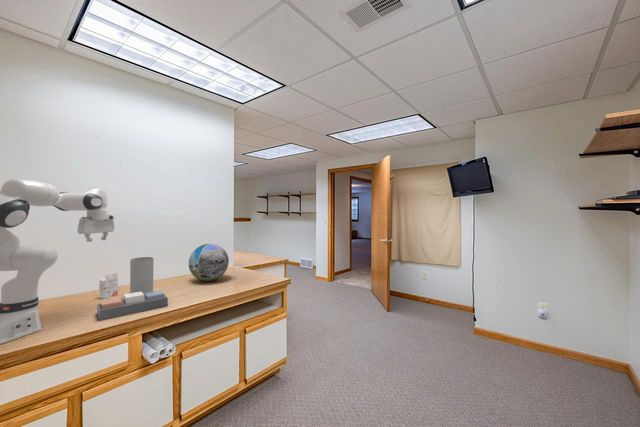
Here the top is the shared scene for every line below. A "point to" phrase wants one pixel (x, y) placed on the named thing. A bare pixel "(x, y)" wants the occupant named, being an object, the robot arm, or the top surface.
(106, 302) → the terracotta key
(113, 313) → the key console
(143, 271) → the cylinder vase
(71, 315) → the top surface
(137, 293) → the white key
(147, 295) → the slate key
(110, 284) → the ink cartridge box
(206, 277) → the grey textured ball
